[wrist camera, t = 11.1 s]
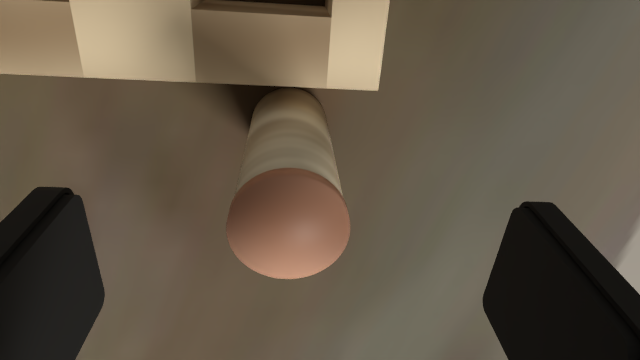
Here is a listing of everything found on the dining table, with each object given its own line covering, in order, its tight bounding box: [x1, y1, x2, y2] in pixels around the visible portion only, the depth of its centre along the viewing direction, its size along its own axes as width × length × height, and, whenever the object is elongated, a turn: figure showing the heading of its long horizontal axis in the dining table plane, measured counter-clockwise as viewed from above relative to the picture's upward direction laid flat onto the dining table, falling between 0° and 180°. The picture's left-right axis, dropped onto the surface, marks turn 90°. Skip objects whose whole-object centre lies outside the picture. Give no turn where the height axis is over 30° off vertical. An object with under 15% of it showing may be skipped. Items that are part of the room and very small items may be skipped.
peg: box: [226, 88, 350, 279], centre depth 15 cm, size 3×3×8 cm
